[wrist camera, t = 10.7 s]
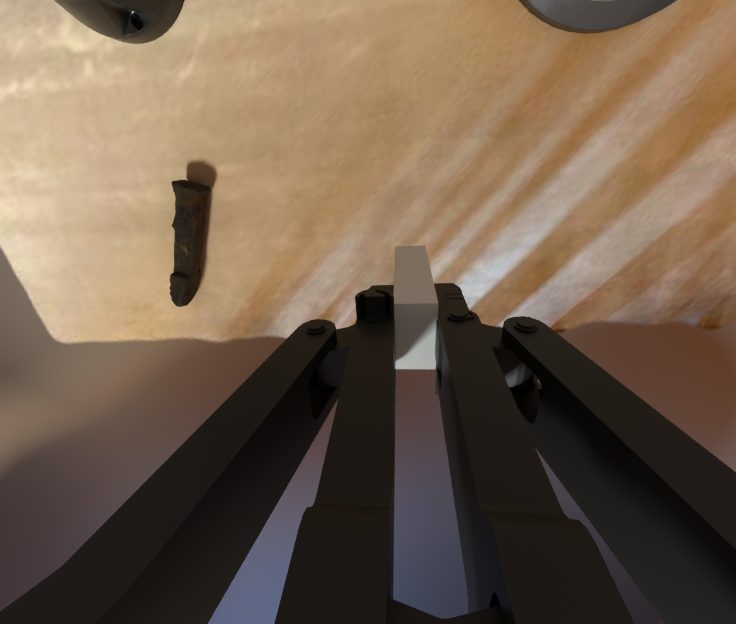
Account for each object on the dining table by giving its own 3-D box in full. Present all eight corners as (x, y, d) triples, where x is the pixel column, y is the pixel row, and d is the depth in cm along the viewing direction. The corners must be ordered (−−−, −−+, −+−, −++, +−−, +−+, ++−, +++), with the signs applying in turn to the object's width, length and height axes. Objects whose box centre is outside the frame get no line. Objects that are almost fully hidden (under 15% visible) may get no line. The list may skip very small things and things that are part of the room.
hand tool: (185, 175, 45) (163, 179, 41) (214, 186, 45) (195, 191, 41) (175, 293, 54) (156, 306, 50) (199, 301, 54) (183, 315, 50)
